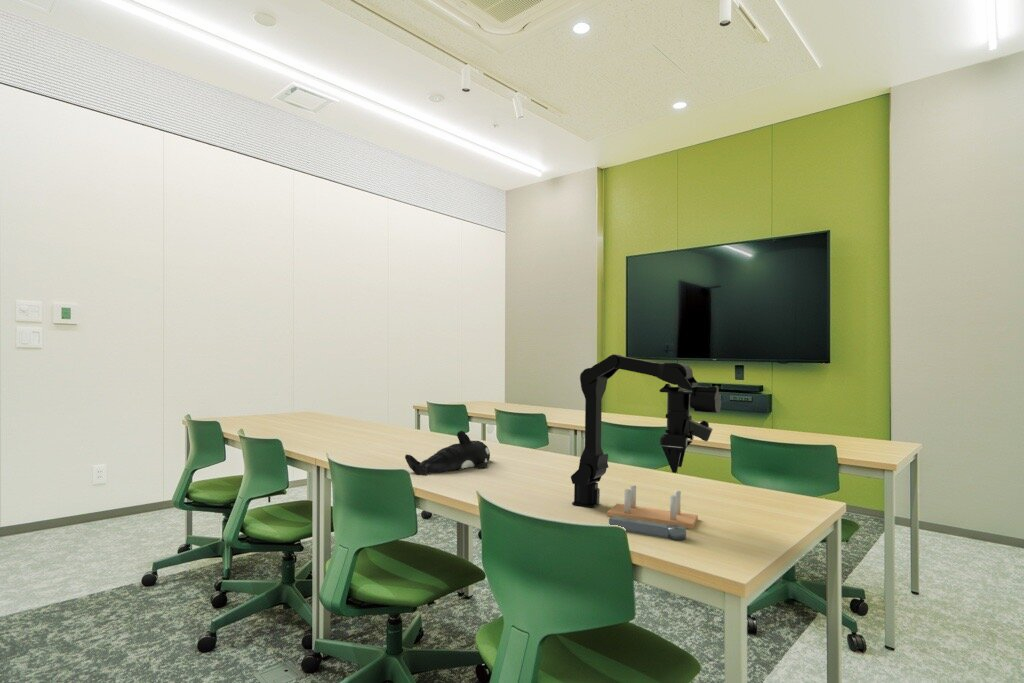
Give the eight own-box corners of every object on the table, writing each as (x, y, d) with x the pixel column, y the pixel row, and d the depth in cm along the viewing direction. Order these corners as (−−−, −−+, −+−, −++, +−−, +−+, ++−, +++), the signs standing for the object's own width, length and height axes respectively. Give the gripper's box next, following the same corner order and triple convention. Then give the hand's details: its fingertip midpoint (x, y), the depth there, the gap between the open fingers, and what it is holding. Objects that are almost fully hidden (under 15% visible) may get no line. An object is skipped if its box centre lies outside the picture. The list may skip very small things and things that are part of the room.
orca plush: (509, 466, 212) (510, 430, 212) (420, 478, 185) (421, 436, 186) (477, 458, 228) (478, 424, 229) (391, 468, 202) (393, 429, 203)
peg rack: (607, 516, 142) (607, 489, 143) (617, 507, 151) (617, 482, 152) (692, 529, 132) (692, 500, 133) (697, 519, 141) (697, 492, 142)
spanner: (608, 529, 131) (608, 519, 131) (612, 525, 135) (613, 515, 135) (684, 542, 123) (684, 531, 123) (687, 537, 126) (687, 526, 127)
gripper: (707, 415, 128) (706, 480, 127) (713, 410, 145) (712, 467, 144) (660, 412, 133) (659, 474, 132) (671, 407, 150) (670, 462, 149)
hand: (677, 469), depth 139 cm, fingers open, 9 cm apart
